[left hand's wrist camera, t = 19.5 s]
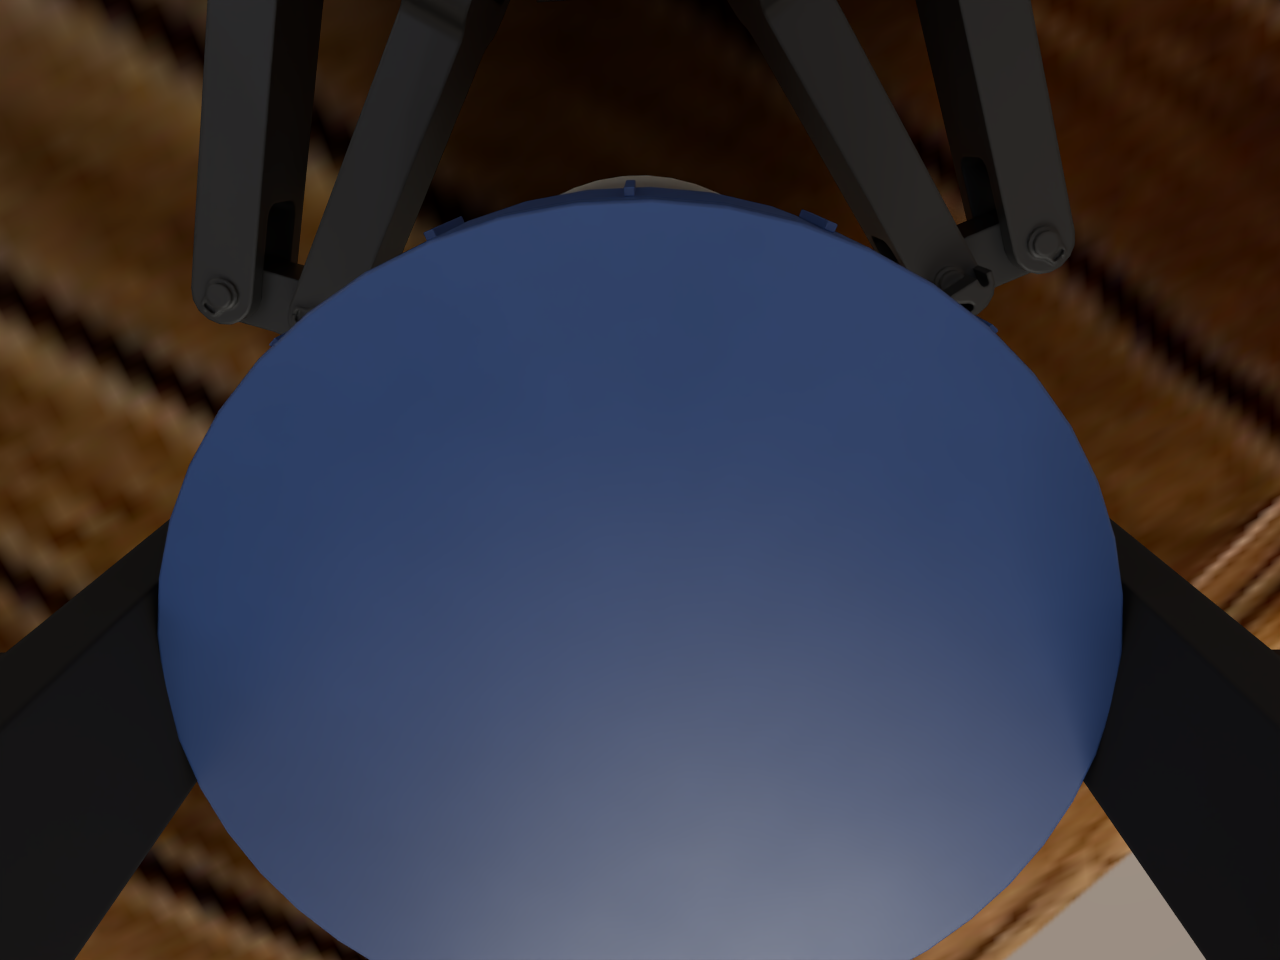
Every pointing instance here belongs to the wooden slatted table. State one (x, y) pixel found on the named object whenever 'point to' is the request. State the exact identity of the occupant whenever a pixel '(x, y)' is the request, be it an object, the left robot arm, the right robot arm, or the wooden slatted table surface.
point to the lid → (640, 596)
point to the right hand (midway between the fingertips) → (651, 590)
